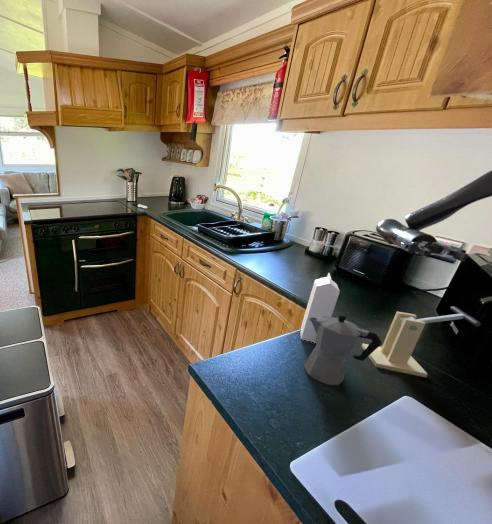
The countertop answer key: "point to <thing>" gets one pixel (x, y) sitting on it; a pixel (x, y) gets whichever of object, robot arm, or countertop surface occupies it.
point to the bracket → (399, 346)
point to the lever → (447, 317)
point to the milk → (319, 305)
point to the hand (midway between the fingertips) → (447, 255)
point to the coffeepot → (335, 348)
